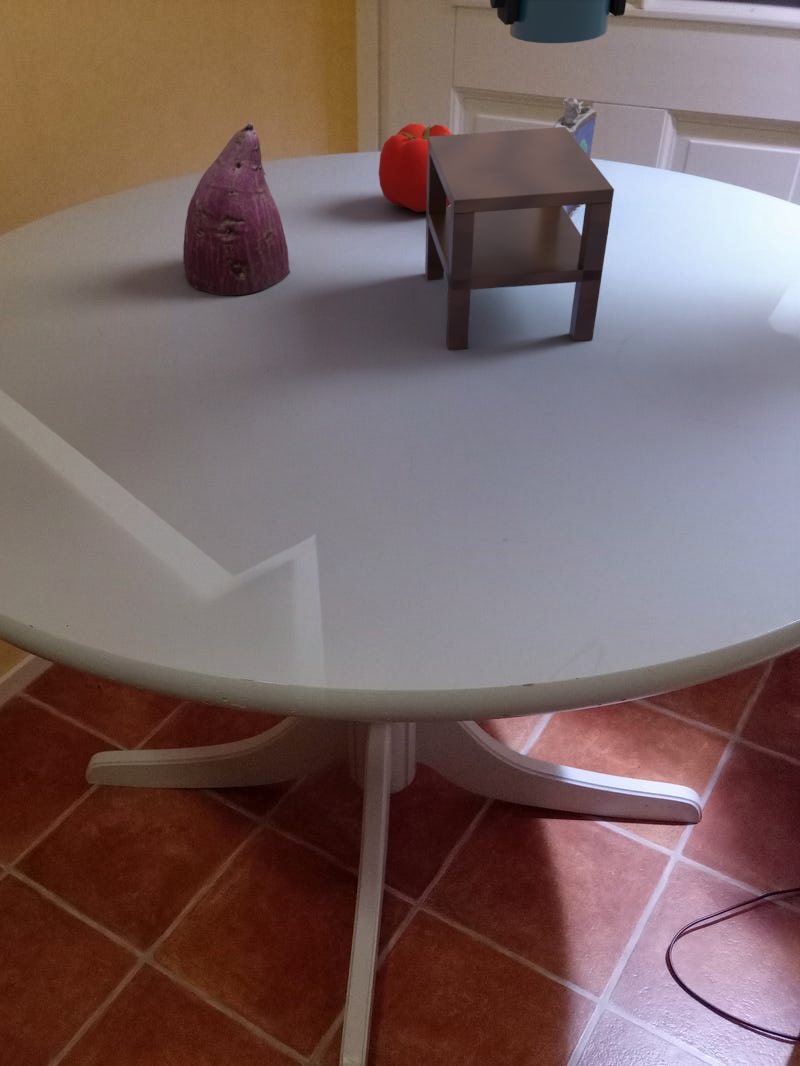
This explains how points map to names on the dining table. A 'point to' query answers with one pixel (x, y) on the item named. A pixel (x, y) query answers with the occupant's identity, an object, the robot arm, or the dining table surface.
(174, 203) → the dining table surface
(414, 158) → the red capsicum
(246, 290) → the vegetable
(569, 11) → the saucepan
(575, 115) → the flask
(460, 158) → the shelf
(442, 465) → the dining table surface
